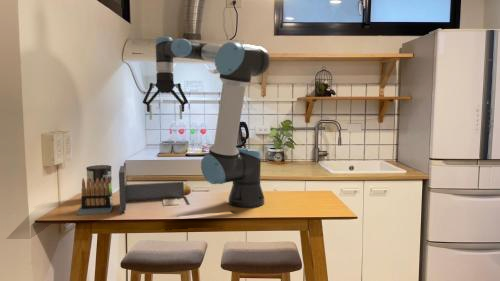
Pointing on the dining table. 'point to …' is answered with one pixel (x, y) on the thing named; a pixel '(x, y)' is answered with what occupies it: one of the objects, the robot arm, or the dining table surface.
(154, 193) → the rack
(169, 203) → the offcut upper
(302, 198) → the dining table surface
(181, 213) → the dining table surface
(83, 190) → the ammunition clip
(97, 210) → the mat
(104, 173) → the coffee can
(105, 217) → the dining table surface
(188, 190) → the fruit
